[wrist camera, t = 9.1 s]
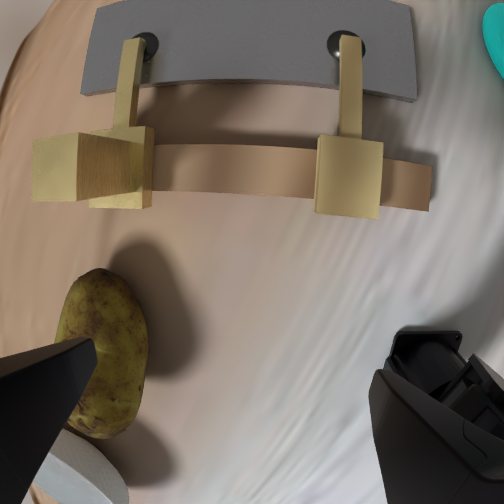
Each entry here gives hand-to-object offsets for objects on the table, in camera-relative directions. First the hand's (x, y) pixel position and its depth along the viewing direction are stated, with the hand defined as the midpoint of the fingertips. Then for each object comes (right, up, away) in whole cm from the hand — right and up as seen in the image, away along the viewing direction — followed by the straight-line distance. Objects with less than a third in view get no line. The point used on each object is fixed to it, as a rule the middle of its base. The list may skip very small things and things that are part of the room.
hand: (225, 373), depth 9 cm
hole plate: (0, +19, +9) cm, 21 cm away
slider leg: (-7, +13, +10) cm, 18 cm away
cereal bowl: (-21, -23, +21) cm, 37 cm away
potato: (-10, -4, +16) cm, 19 cm away
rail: (0, +12, +10) cm, 16 cm away
